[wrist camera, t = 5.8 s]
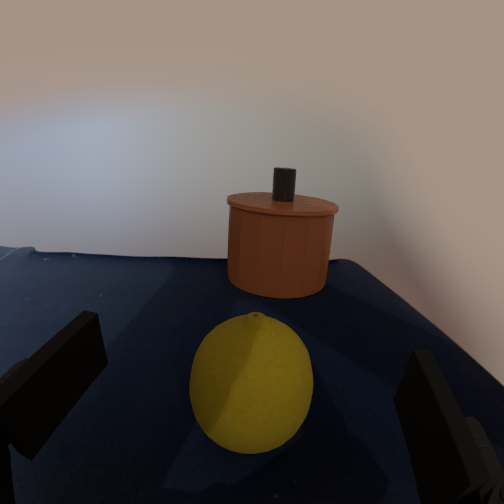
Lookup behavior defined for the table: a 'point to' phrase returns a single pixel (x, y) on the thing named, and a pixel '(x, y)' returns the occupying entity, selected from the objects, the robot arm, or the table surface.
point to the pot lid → (282, 199)
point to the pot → (278, 253)
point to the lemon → (251, 384)
